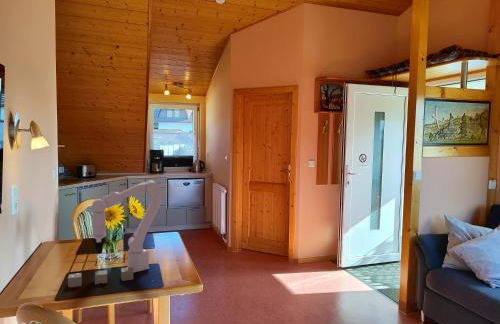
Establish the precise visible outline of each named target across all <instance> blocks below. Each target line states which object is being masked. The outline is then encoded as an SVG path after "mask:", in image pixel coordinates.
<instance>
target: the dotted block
mask: <svg viewBox="0 0 500 324" xmlns="http://www.w3.org/2000/svg"><path fill="white" fill-rule="evenodd" d="M69 287H70V288H76V287H82V272H78V273H71V274H70V273H69V274H68V277H67V288H69ZM70 288H69V289H70Z"/></svg>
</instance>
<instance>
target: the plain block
mask: <svg viewBox="0 0 500 324" xmlns="http://www.w3.org/2000/svg"><path fill="white" fill-rule="evenodd" d="M100 283H102V284H107V283H108V270H107V269H105V270H96V271H94V285H100Z"/></svg>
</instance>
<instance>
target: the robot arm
mask: <svg viewBox="0 0 500 324" xmlns="http://www.w3.org/2000/svg"><path fill="white" fill-rule="evenodd" d="M138 193H140V194H146V193H147V194H148V197H149V199H150V203H149V205H148V207H147V208H146V211H145V212H144V215H143V217H142V218H141V221H140V223H139V225H138V226H137V229H136V230H135V231H134V232H133V234H132V236H130V237H129V238H128V239H127V245H128V248H129V249H128V250H127V267H125V268H129V267H133V274H134V273H136V272H141V271H145V270H149V269H150V265H149V262H150V256H149V252H148V250H147V249H143V248H144V241H145V240H146V235H147V233H148V231H149V229H150V227H151V225H152V223H153V221H154V219H155V217H156V215H157V213H158V211H159V209H160V207H161V206H162V202H163V199H162V198H163V197H162V189H161V187H160V185H159V183H157V182H156V181H155V180H152V179H150V180H149V179H148V180H146V181H142V182H140V183H138V184H136V185H133V186H132V187H129V188H127V189H125V190H123V191H121V192H118V191H115V192H114V191H111V192H110V193H109V194H107V195H105V196H100V198H96V199H94V200H93V202H92V204H91V208H92V216H91V217H92V220H91V221H92V226H91V227H92V233H91V234H89V237H90V238H91V237H92V243H93V245H94V248H95V252H96V255H100V254H101V255H103V249H104V244H105V242H106V239H107V238H106V236H107V232H106V231H107V230H106V228H107V227H106V226H107V225H106V221H107V220H106V211H105V210H106V209H110V208H112V207H114V206H116V205H119V204H121V203H122V201H123V199H124V200H125V199H127V198H128V197H132V196H133V195H137V194H138Z"/></svg>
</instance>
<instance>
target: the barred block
mask: <svg viewBox="0 0 500 324" xmlns="http://www.w3.org/2000/svg"><path fill="white" fill-rule="evenodd" d="M120 273H121V275H120V278H121V281H122V282H123V281H131V280H134V273H133V267H129V268H126V267H121V268H120Z"/></svg>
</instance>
